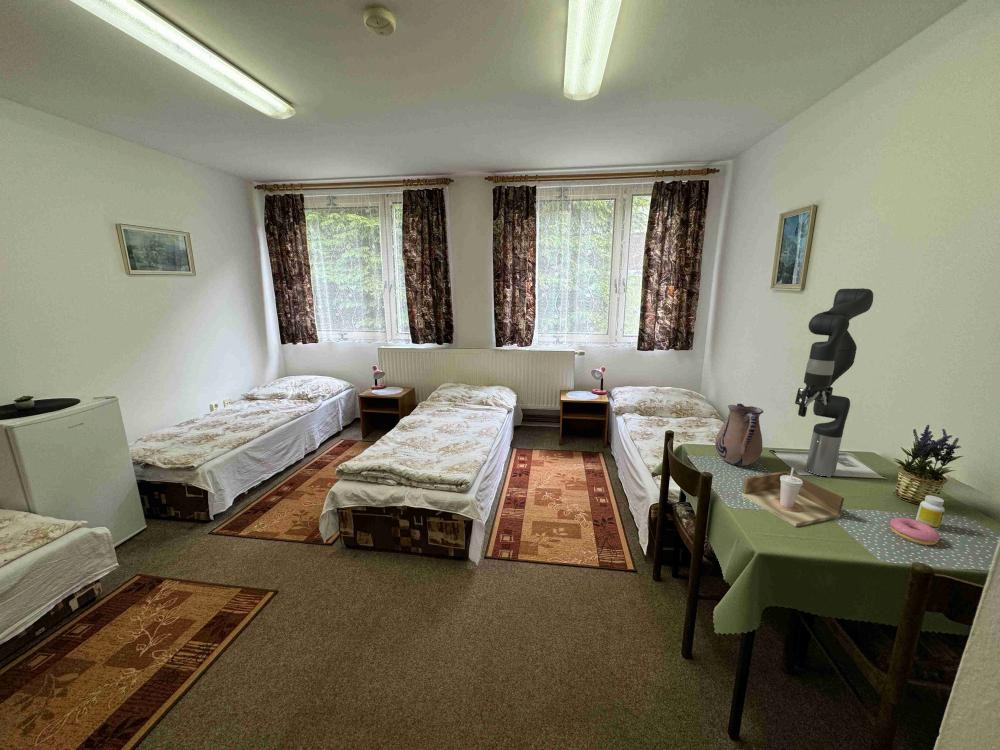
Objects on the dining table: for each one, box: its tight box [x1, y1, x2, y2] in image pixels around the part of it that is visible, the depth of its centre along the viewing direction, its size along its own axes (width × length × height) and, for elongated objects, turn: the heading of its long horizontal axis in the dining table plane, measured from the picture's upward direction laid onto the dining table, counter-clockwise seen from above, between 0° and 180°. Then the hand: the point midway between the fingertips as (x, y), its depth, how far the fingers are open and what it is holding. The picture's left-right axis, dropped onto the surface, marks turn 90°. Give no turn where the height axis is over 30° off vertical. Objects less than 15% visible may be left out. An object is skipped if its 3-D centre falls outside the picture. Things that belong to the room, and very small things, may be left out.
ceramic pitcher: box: [714, 403, 764, 467], centre depth 168 cm, size 18×21×25 cm
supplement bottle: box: [915, 495, 945, 531], centre depth 127 cm, size 5×5×10 cm
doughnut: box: [889, 517, 941, 546], centre depth 122 cm, size 11×11×4 cm
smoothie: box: [780, 467, 803, 508], centre depth 134 cm, size 6×6×14 cm
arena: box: [741, 470, 845, 528], centre depth 137 cm, size 20×20×7 cm
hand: (810, 415), depth 143 cm, fingers open, 8 cm apart
